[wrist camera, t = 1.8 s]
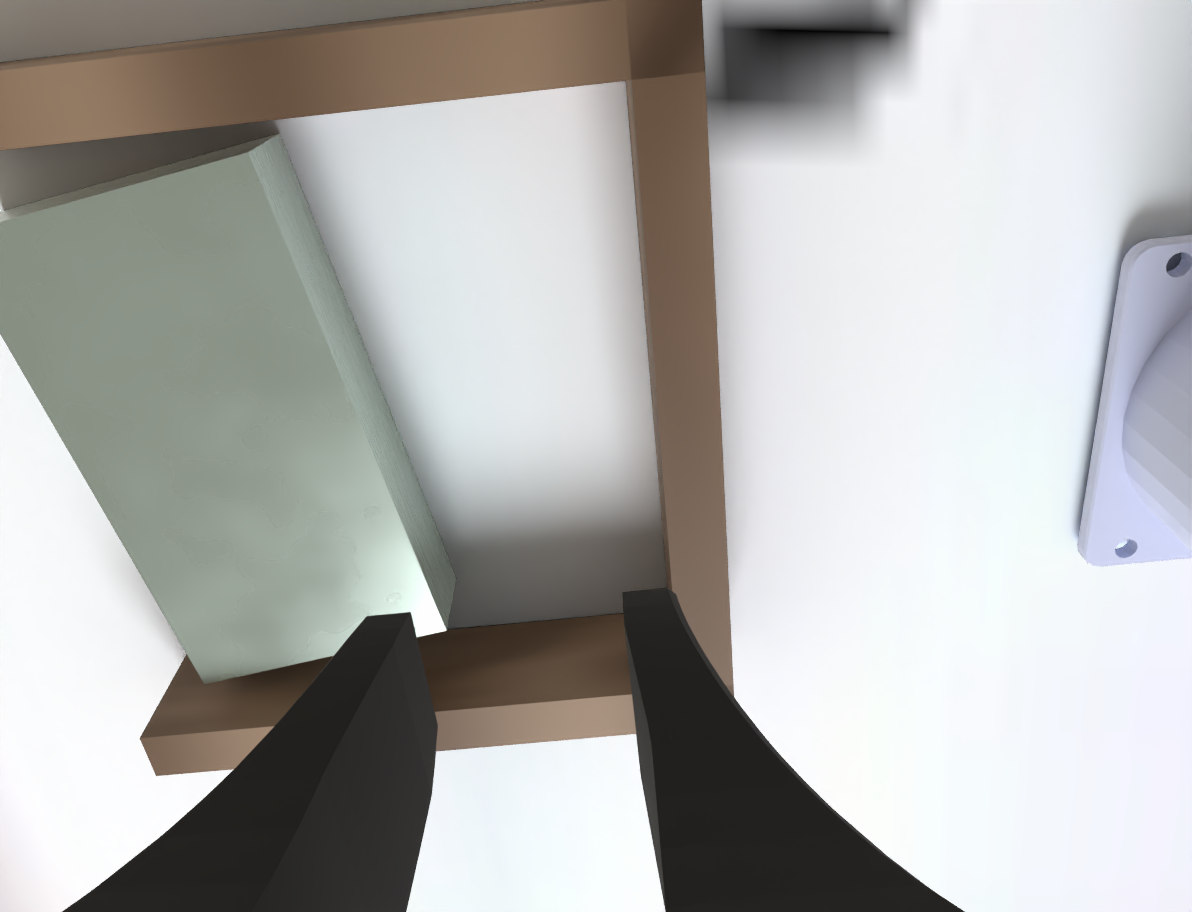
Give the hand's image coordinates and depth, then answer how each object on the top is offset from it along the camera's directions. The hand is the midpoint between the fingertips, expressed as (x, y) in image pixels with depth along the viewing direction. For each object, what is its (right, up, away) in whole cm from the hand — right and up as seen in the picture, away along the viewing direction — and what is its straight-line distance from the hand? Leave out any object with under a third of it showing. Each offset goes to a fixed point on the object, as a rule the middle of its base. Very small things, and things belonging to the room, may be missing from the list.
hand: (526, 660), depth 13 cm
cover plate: (-7, +4, +9) cm, 12 cm away
